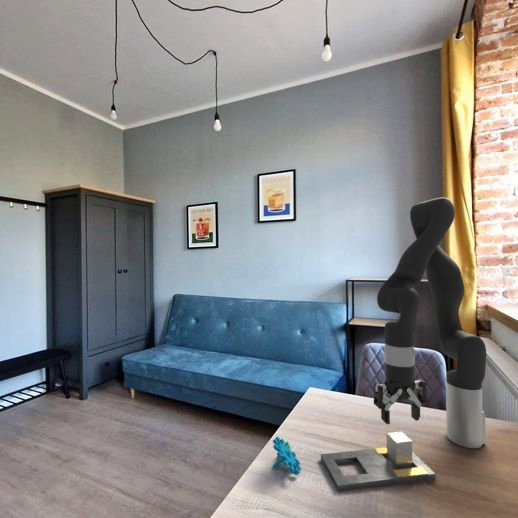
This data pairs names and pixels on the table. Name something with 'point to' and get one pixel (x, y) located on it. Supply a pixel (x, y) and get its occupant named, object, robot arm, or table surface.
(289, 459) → the gear
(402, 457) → the steel block
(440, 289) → the robot arm
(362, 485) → the fixture plate
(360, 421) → the table surface
